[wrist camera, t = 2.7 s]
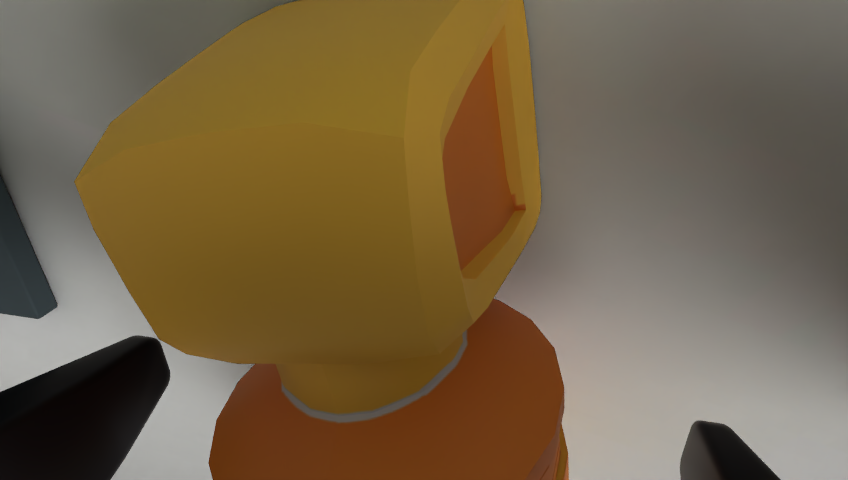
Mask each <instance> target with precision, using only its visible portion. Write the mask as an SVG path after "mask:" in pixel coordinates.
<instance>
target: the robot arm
mask: <svg viewBox="0 0 848 480" xmlns="http://www.w3.org/2000/svg"><path fill="white" fill-rule="evenodd" d="M169 380H170V370H169V367H168V364H167V361H166V358H165V355H164V352H163V349H162V346H161V343H160V342H159V341H158V340H157V339H155V338H152V337H145V336H132V337H129V338H127V339H124V340H122V341H120V342H117V343H115V344H113V345H110V346H108V347H106V348H103V349H101V350H98V351H96V352H94V353H91V354H89V355H87V356H84V357H82V358H80V359H77V360H75V361H72V362H70V363H68V364H65V365H63V366H61V367H58V368H56V369H54V370H51V371H49V372H47V373H44V374H42V375H39V376H37V377H35V378H32V379H30V380H28V381H25V382H23V383H21V384H18V385H16V386H13V387H11V388H9V389H6V390H4V391H2V392H0V480H110V479H111V478H112V477H113V475H114V474H115V472H116V471H117V469H118V468H119V466H120V465H121V463H122V462H123V460H124V459H125V457H126V455H127V454H128V452H129V451H130V449H131V447H132V446H133V444H134V442H135V440H136V439H137V437H138V435H139V434H140V432H141V430H142V428H143V427H144V425H145V423H146V422H147V420H148V418H149V417H150V415H151V413H152V411H153V410H154V408H155V406H156V405H157V403H158V401H159V399H160V398H161V396H162V394H163V393H164V391H165V389H166V388H167V386H168V383H169ZM680 475H681V480H780V479H779V478H778V476H777V475H776V474H775V473H774V472H773V471H772V470H771V469H770V468H769V467H768V466H767V465H766V464H765V463H764V462H763V461H762V460H761V459H760V458H759V457H758V456H757V455H756V454H755V453H754V452H753V451H752V450H751V449H750V448H749V447H748V446H747V445H746V444H745V443H744V442H743V441H742V439H741V438H740V437H739V436H738V435H737V434H736V433H735V432H734V431H733V430H732V429H731V428H729V427H728V426H726V425H724V424H720V423H714V422H707V421H696V422H694V423H693V425H692V427H691V429H690V432H689V435H688V438H687V442H686V445H685V448H684V451H683V454H682V457H681V462H680Z"/></svg>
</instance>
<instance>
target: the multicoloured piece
mask: <svg viewBox="0 0 848 480" xmlns="http://www.w3.org/2000/svg"><path fill="white" fill-rule="evenodd" d="M74 182H75V185H76V187H77V190H78V192H79V195H80V197H81V199H82V202H83V204H84V207H85V209H86V212H87V214H88V217H89V219H90V221H91V224H92V226H93V229H94V231H95V233H96V234H97V236H98V238H99V240H100V241H101V243H102V245H103V247H104V249H105V250H106V252H107V254H108V256H109V257H110V259H111V261H112V263H113V264H114V266H115V268H116V270H117V271H118V273H119V275H120V277H121V279H122V280H123V282H124V284H125V286H126V287H127V289H128V291H129V293H130V294H131V296H132V297H133V299H134V300H135V302H136V304H137V305H138V307H139V308H140V310H141V311H142V313H143V315H144V316H145V318H146V319H147V321H148V322H149V324H150V326H151V327H152V329H153V330H154V332H155V333H156V335H157V337H158V338H159V339H160V340H162V341H163V342H165V343H167V344H169V345H171V346H173V347H174V348H176V349H178V350H180V351H182V352H184V353H186V354H189V355H194V356H199V357H205V358H210V359H215V360H220V361H226V362H231V363H236V364H255V365H254V366H253V367H252V368H251V369H250V370H249V371H248V372H247V373H246V374H245V375H244V376H243V377H242V378H241V379H240V381H239V382H238V383H237V385H236V387H235V389H234V390H233V392H232V394H231V396H230V397H229V399H228V401H227V403H226V404H225V406H224V408H223V410H222V411H221V413H220V415H219V417H218V419H217V421H216V426H215V431H214V436H213V442H212V447H211V452H210V458H209V466H210V470H211V474H212V478H213V480H569V474H568V451H567V446H566V442H565V437H564V433H563V429H562V424H561V422H562V417H563V412H564V385H563V381H562V377H561V373H560V369H559V365H558V361H557V357H556V353H555V349H554V347H553V346H552V345H551V344H550V342H549V341H548V340H547V339H546V337H545V336H544V335H543V334H542V332H541V331H540V330H539V329H538V328H537V326H536V325H535V324H534V323H533V321H532V320H531V319H529V318H528V317H526V316H524V315H523V314H521V313H519V312H518V311H516V310H514V309H513V308H511V307H509V306H508V305H506V304H504V303H503V302H501V301H499V300H495V299H493V298H494V297H495V295H496V293H497V292H498V290H499V288H500V287H501V285H502V283H503V282H504V280H505V279H506V277H507V275H508V274H509V272H510V270H511V269H512V267H513V265H514V264H515V262H516V260H517V259H518V257H519V256H520V254H521V252H522V250H523V249H524V247H525V245H526V243H527V241H528V240H529V238H530V236H531V234H532V232H533V230H534V229H535V226H536V223H537V220H538V217H539V214H540V206H541V183H540V169H539V156H538V143H537V130H536V118H535V105H534V94H533V84H532V73H531V62H530V51H529V42H528V34H527V26H526V18H525V10H524V2H523V0H299V1H295V2H291V3H287V4H283V5H279V6H276V7H274V8H272V9H270V10H268V11H266V12H264V13H262V14H260V15H258V16H256V17H254V18H252V19H250V20H248V21H246V22H244V23H242V24H241V25H239V26H238V27H236V28H235V29H233V30H232V31H230V32H229V33H227V34H226V35H224V36H223V37H222V38H220V39H219V40H217V41H216V42H215V43H213V44H212V45H210V46H209V47H207V48H206V49H205V50H203V51H202V52H200V53H199V54H198V55H196V56H195V57H194V58H192V59H191V60H189V61H188V62H187V63H185V64H184V65H183V66H181V67H180V68H179V69H177V70H176V71H174V72H173V73H172V74H170V75H169V76H168V77H166V78H165V79H164V80H162V81H161V82H159V83H158V84H157V85H156V86H154V87H153V88H152V89H151V90H150V91H148V92H147V93H146V94H145V95H143V96H142V97H141V98H140V99H139V100H137V101H136V102H135V103H134V104H133V105H131V106H130V107H129V108H128V109H127V110H125V111H124V112H123V113H122V114H121V115H119V116H118V117H117V118H116V119H115V120H113V121H112V122H111V123H110V124H109V126H108V128H107V129H106V131H105V133H104V134H103V136H102V137H101V139H100V141H99V142H98V144H97V146H96V147H95V149H94V150H93V152H92V154H91V155H90V157H89V158H88V160H87V162H86V163H85V165H84V167H83V168H82V170H81V171H80V173H79V175H78V176H77V178H76V180H75V181H74Z"/></svg>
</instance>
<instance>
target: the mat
mask: <svg viewBox="0 0 848 480" xmlns="http://www.w3.org/2000/svg"><path fill="white" fill-rule="evenodd" d="M56 307H57V303H56V301H55V298H54V296H53V294H52V292H51V289H50V287H49V285H48V282H47V280H46V278H45V276H44V273H43V271H42V269H41V266H40V264H39V262H38V260H37V257H36V255H35V253H34V250H33V248H32V246H31V244H30V241H29V239H28V237H27V234H26V232H25V230H24V228H23V225H22V223H21V221H20V218H19V216H18V214H17V212H16V209H15V207H14V205H13V202H12V200H11V198H10V196H9V193H8V191H7V189H6V186H5V184H4V182H3V180H2V177H1V175H0V313H2V314H9V315H15V316H22V317H28V318H35V319H39V318H41V317H43V316H44V315H46V314H47V313H49V312H50V311H52V310H53V309H55V308H56Z"/></svg>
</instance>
